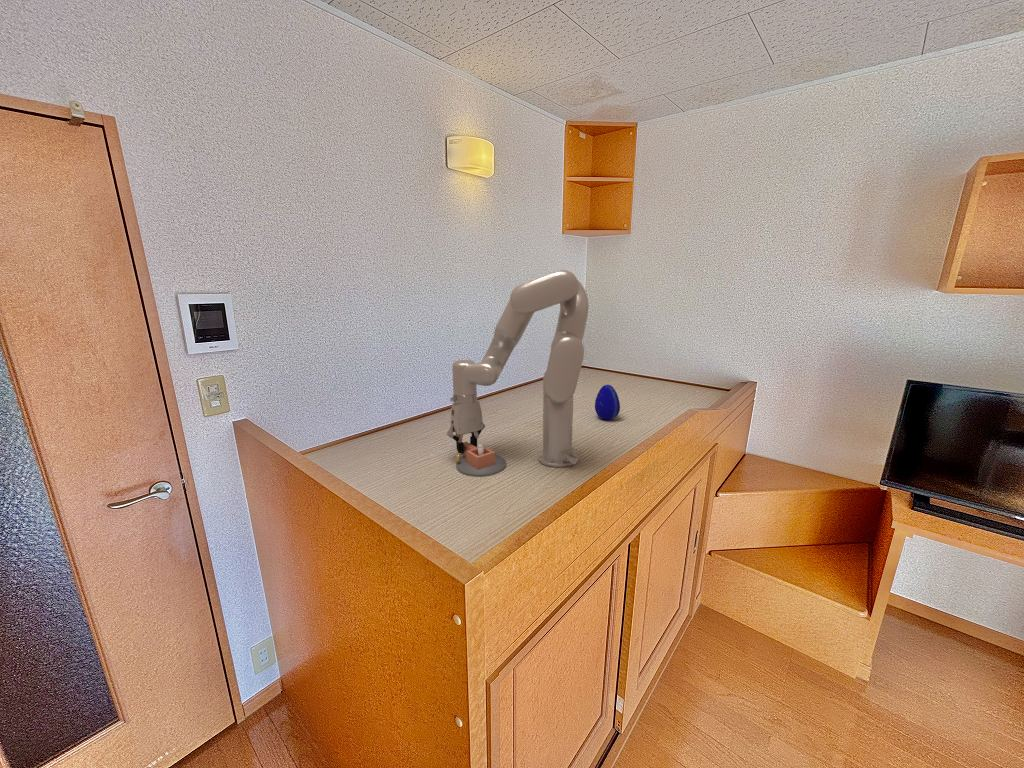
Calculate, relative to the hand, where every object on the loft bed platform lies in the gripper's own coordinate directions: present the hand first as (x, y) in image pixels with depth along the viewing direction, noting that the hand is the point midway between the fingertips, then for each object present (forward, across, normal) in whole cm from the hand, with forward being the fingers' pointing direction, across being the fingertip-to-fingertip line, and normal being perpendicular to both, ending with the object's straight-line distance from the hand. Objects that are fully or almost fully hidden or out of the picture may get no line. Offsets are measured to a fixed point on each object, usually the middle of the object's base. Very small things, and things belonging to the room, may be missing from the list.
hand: (467, 450), depth 138 cm
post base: (+2, 0, -8) cm, 9 cm away
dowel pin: (+2, -6, -4) cm, 8 cm away
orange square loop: (+2, 0, -5) cm, 5 cm away
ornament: (+3, +67, -3) cm, 67 cm away
